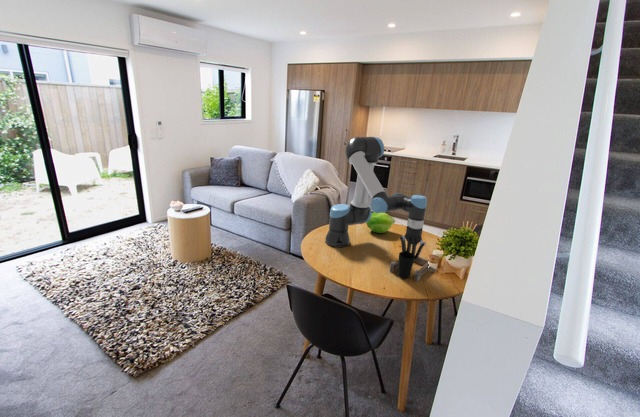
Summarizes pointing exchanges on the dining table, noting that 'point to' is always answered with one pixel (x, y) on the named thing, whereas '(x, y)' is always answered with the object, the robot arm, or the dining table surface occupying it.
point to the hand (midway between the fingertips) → (408, 269)
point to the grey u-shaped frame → (417, 273)
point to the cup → (405, 264)
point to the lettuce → (380, 222)
